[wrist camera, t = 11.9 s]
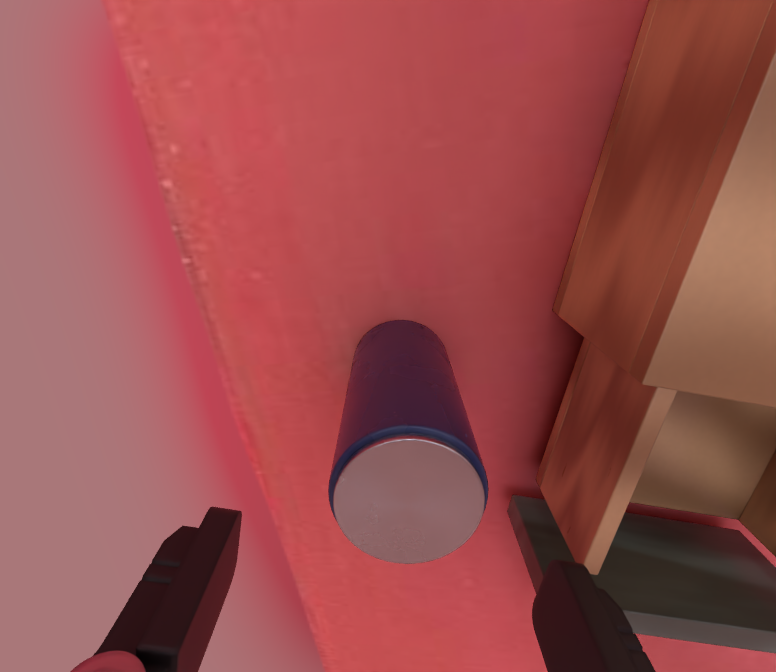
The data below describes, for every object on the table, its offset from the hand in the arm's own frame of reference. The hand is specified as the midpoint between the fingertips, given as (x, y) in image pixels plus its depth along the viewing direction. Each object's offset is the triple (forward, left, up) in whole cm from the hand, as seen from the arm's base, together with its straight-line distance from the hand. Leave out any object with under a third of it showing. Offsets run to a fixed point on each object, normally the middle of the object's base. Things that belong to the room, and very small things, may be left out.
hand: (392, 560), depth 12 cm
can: (+1, 0, -13) cm, 13 cm away
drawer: (+15, -3, -12) cm, 20 cm away
